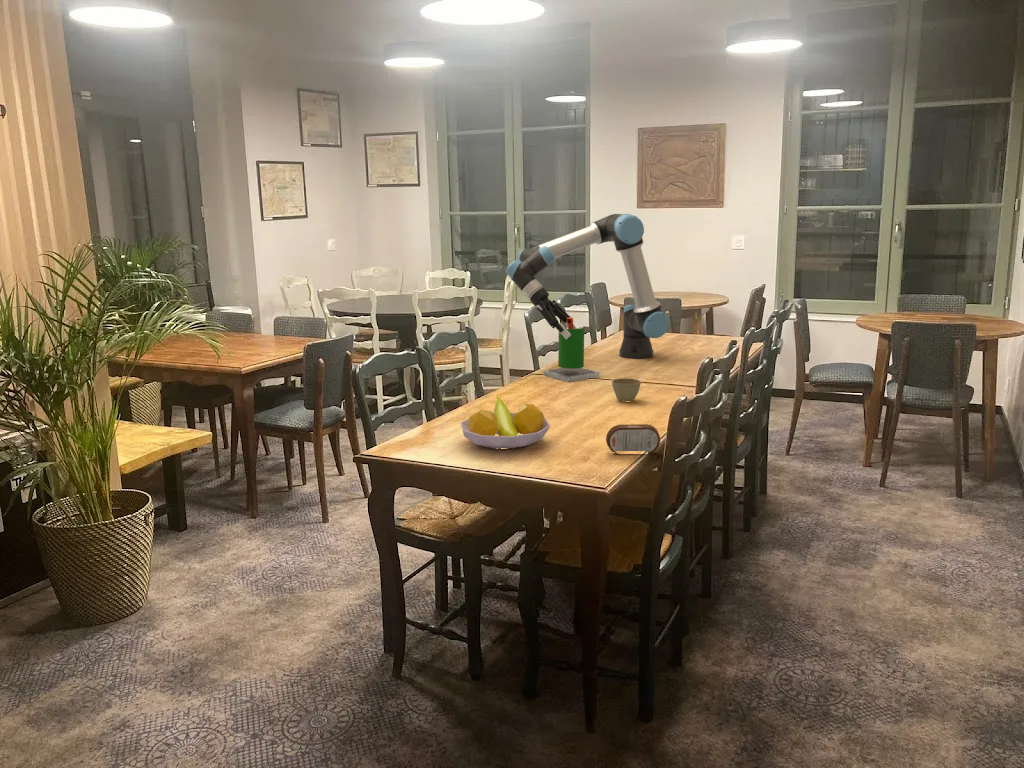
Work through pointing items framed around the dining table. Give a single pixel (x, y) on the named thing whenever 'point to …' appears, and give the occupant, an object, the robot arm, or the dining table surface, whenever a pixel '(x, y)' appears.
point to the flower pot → (626, 388)
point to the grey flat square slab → (571, 374)
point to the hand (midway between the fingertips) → (573, 335)
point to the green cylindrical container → (571, 348)
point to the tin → (633, 438)
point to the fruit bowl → (506, 426)
